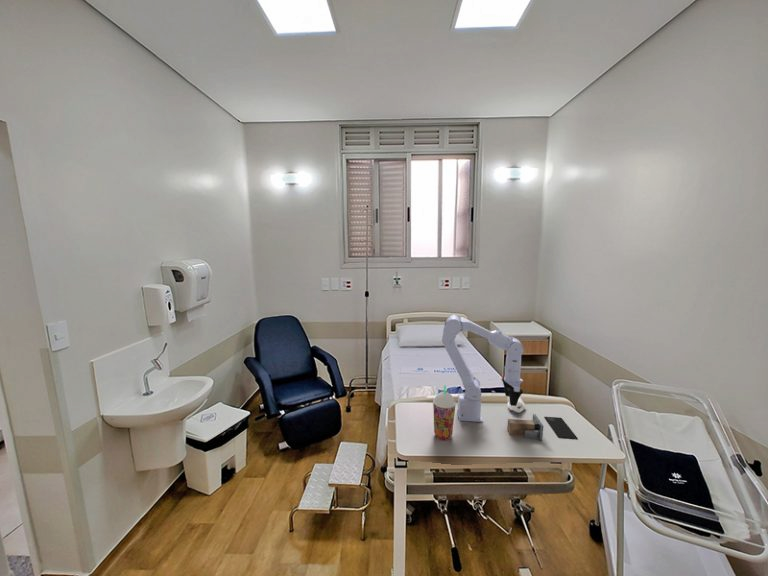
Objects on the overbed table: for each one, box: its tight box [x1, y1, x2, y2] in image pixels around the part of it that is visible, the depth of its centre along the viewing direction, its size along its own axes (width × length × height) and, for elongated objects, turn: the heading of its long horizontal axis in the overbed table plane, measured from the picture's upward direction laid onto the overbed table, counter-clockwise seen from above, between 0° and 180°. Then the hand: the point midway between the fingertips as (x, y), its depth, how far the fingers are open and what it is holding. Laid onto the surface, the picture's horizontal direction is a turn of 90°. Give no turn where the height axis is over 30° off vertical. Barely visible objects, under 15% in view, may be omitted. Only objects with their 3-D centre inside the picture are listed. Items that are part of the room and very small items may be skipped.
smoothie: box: [432, 385, 457, 441], centre depth 119 cm, size 8×8×20 cm
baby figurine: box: [506, 396, 526, 414], centre depth 141 cm, size 9×12×8 cm
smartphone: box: [543, 416, 579, 440], centre depth 126 cm, size 7×1×15 cm
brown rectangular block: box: [506, 418, 535, 437], centre depth 122 cm, size 9×3×5 cm, turn 84°
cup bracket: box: [523, 413, 544, 442], centre depth 121 cm, size 6×8×6 cm
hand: (510, 400), depth 129 cm, fingers open, 7 cm apart
